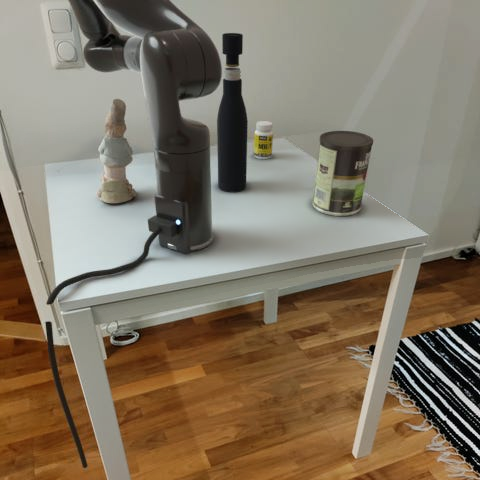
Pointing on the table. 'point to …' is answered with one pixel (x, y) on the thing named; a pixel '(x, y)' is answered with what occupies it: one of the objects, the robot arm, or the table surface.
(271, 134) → the supplement bottle
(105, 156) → the figurine
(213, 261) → the table surface
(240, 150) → the dark blue water bottle
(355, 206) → the coffee can
